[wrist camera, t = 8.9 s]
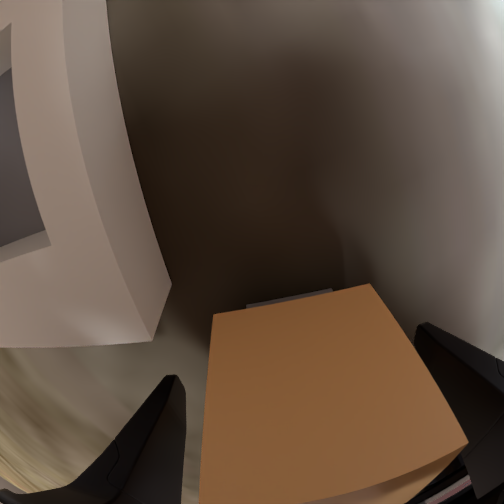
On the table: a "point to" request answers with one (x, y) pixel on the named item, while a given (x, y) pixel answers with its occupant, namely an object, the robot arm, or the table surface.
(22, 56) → the socket plate
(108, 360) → the table surface
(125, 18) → the table surface
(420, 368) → the plug
